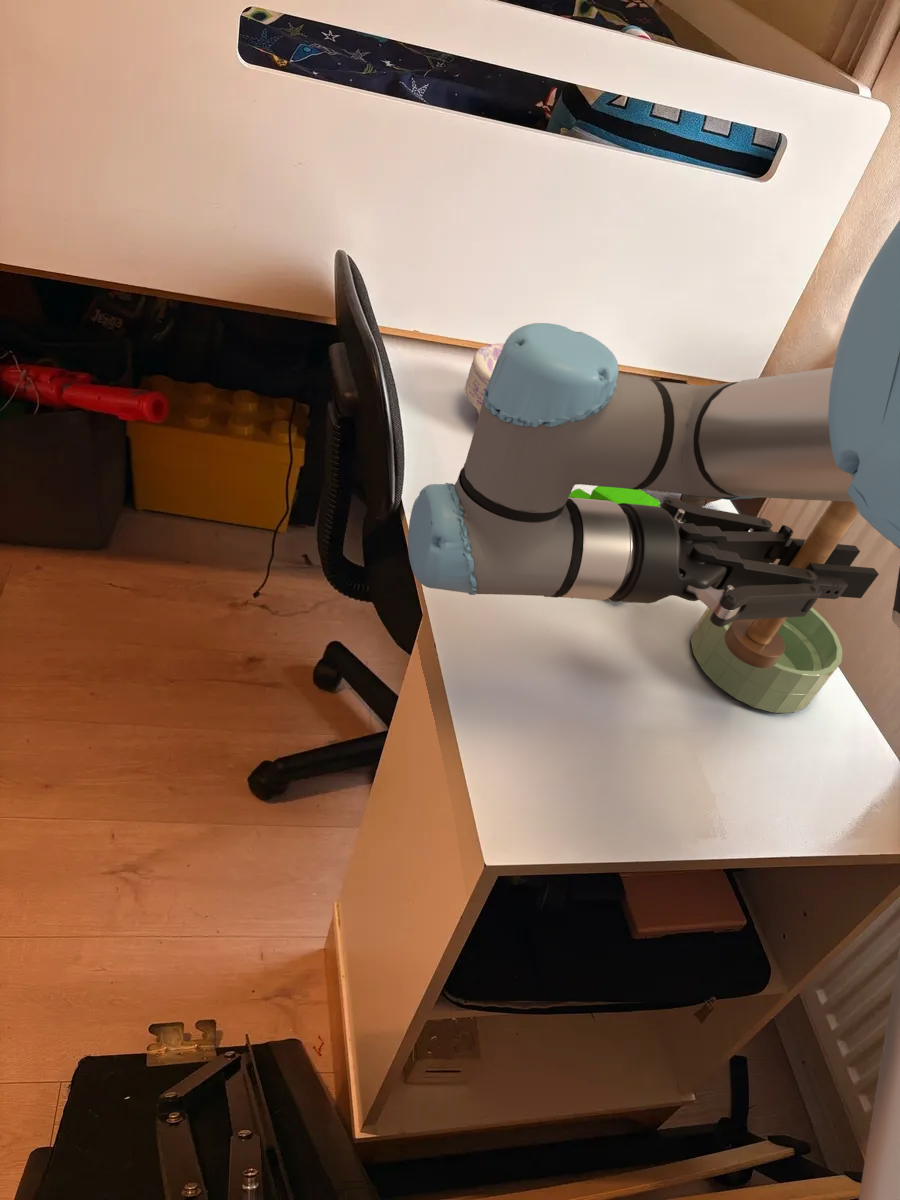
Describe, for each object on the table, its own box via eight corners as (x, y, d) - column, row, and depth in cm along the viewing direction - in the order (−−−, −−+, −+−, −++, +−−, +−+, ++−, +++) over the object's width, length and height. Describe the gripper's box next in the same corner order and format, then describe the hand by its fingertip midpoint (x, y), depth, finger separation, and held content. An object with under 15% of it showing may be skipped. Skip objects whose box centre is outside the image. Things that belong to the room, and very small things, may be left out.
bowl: (834, 717, 89) (867, 676, 86) (722, 716, 85) (752, 673, 81) (772, 624, 99) (800, 584, 95) (669, 619, 94) (693, 577, 90)
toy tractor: (673, 556, 104) (711, 486, 97) (611, 617, 92) (651, 542, 86) (593, 508, 107) (626, 437, 101) (525, 561, 95) (556, 484, 89)
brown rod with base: (786, 669, 79) (900, 511, 68) (738, 667, 77) (848, 505, 66) (761, 629, 83) (865, 473, 72) (715, 627, 81) (814, 466, 70)
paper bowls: (482, 381, 124) (499, 328, 119) (582, 425, 122) (603, 373, 117) (440, 422, 113) (456, 365, 108) (549, 472, 110) (572, 416, 105)
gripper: (565, 528, 76) (793, 548, 84) (627, 658, 65) (882, 668, 73) (597, 453, 71) (835, 482, 79) (669, 581, 60) (938, 600, 68)
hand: (857, 571), depth 76 cm, fingers closed on brown rod with base, 2 cm apart
